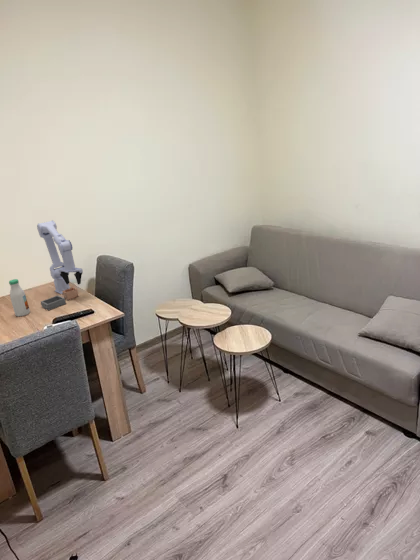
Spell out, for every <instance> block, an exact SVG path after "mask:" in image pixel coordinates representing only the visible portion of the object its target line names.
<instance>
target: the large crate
mask: <svg viewBox="0 0 420 560" xmlns="http://www.w3.org/2000/svg"><path fill="white" fill-rule="evenodd" d="M40 305H41V307H42V308H43V309H45V310H47V311H51V310H53V309H57V308H59V307H62V306H64V305H67V302H66V299H65V298H64V296H63V297H62V296H61V295H54V296H51V297H50V298H47V299H44V300H41V301H40Z"/></svg>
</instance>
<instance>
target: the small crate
mask: <svg viewBox="0 0 420 560" xmlns="http://www.w3.org/2000/svg"><path fill="white" fill-rule="evenodd" d="M78 291H79V290H78V288H76V287H74V286H72V287H70V288H69V289H67V290H64V291H62V292H63V294H62V296H63V298H65V301H71V300H73V299H76V298H78V297H79V296H80V295H79V292H78Z"/></svg>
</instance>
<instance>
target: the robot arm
mask: <svg viewBox="0 0 420 560" xmlns="http://www.w3.org/2000/svg"><path fill="white" fill-rule="evenodd" d="M36 228H37V231H38V235H39V237H40V238H42V239H43V240H44V242H45V245H46V248H47V251H48V253H49V256H50V259H51V262H52V264H51V265H50V267H49V271H50V276H51V278H52V279H53V285H54V288H55V290H54V292H55V293H58V294H60V295H63V292H62V291H64V290H67V289H69V288H71V286H70V279H69V275H70V273H74V274H73V275H74V277H75V279H76V283H77V285H80V284H81V283H82V275H83V274H84V273H83V268H79V267H76V265H75V261H74V255H73V252H72V250H73V244H72V241H70V240H69V239H66V237H65V236H64V235H63V234H62V233H59V232H58V230H57V228H58V226H57V223H56V222H55V221H54V220H53V219H52V220H50V221H44V222H40V223H37V225H36ZM55 244H56V245H55ZM57 247H58V248H57ZM57 249H58V250H57ZM58 251H59V252H58ZM59 253H60V256H61V258H62V261H61V259H60V256H59Z"/></svg>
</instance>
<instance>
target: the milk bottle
mask: <svg viewBox="0 0 420 560" xmlns="http://www.w3.org/2000/svg"><path fill="white" fill-rule="evenodd" d="M8 284H9V286H10V291H9V297H10V302H11V306H12V308H13V312H14V315H15V317H23V316H26V315H29V314H30V312H31V310H30V307H29V302H28V299H27V296H26V293H25V291H24V289H23V288H22V287H21V286H20V282H19V279H17V278H14V279H11V280H9V281H8Z"/></svg>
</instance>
